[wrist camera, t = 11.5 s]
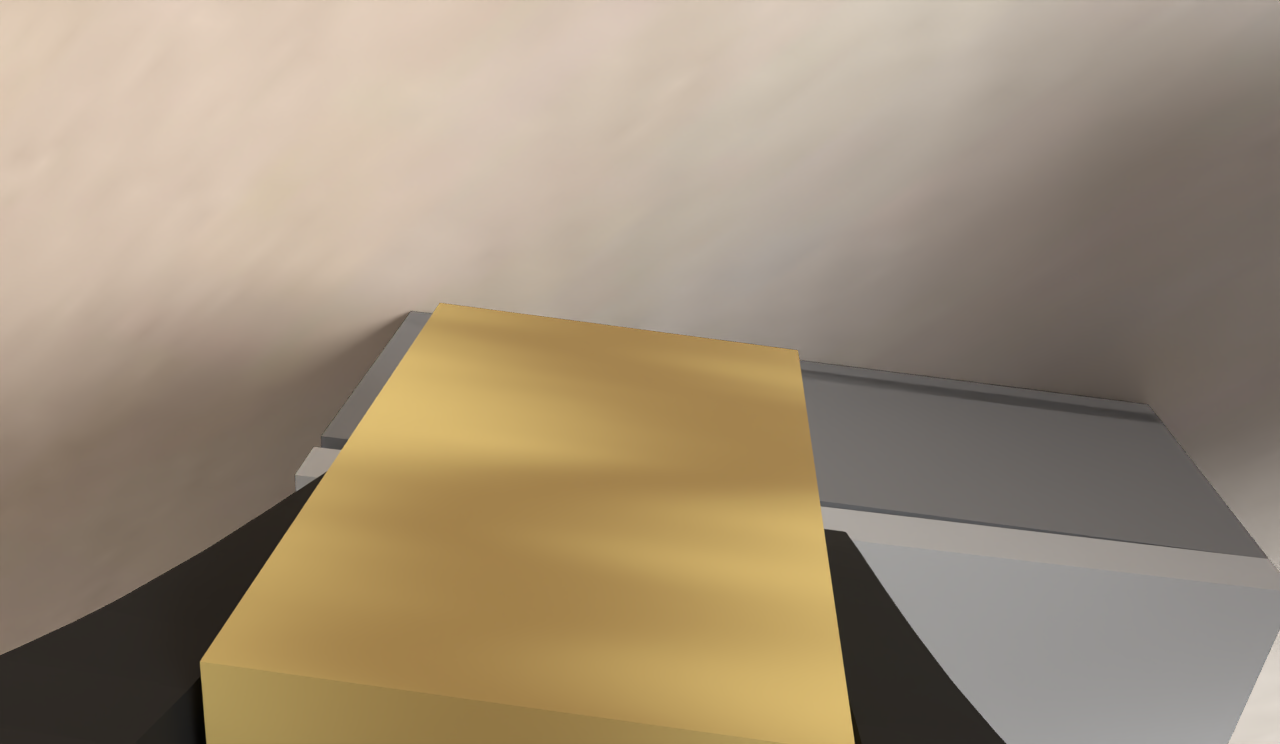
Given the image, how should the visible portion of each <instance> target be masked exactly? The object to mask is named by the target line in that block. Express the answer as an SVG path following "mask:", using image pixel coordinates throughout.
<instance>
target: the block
mask: <svg viewBox="0 0 1280 744" xmlns="http://www.w3.org/2000/svg"><path fill="white" fill-rule="evenodd" d="M200 670H201V682H202V695H203V707H204V719H205V732H206V744H855V741H854V734H853V727H852V720H851V713H850V706H849V699H848V692H847V686H846V679H845V672H844V665H843V658H842V651H841V644H840V637H839V630H838V623H837V616H836V609H835V603H834V596H833V589H832V582H831V575H830V568H829V561H828V554H827V547H826V540H825V533H824V527H823V520H822V513H821V506H820V499H819V492H818V485H817V478H816V471H815V464H814V457H813V450H812V444H811V437H810V430H809V423H808V416H807V409H806V402H805V395H804V388H803V381H802V374H801V368H800V361H799V354H798V350H792V349H785V348H777V347H769V346H762V345H754V344H747V343H739V342H732V341H724V340H716V339H709V338H701V337H694V336H686V335H679V334H671V333H664V332H656V331H648V330H641V329H633V328H626V327H618V326H611V325H603V324H596V323H588V322H580V321H573V320H565V319H558V318H550V317H543V316H535V315H528V314H520V313H512V312H505V311H497V310H490V309H482V308H475V307H467V306H459V305H452V304H444V303H439V305H438V306H437V308H436V309H435V311H434V312H433V314H432V315H431V317H430V318H429V320H428V321H427V323H426V324H425V326H424V327H423V329H422V330H421V332H420V333H419V335H418V336H417V338H416V339H415V341H414V342H413V344H412V345H411V347H410V348H409V350H408V351H407V353H406V354H405V356H404V357H403V359H402V360H401V362H400V363H399V365H398V366H397V368H396V369H395V371H394V372H393V374H392V375H391V377H390V378H389V380H388V381H387V383H386V384H385V386H384V387H383V389H382V390H381V392H380V393H379V395H378V396H377V397H376V399H375V400H374V402H373V403H372V405H371V406H370V408H369V409H368V411H367V412H366V414H365V415H364V417H363V418H362V420H361V421H360V423H359V424H358V426H357V427H356V429H355V430H354V432H353V433H352V435H351V436H350V438H349V439H348V441H347V442H346V444H345V445H344V447H343V448H342V450H341V451H340V453H339V454H338V456H337V457H336V459H335V460H334V462H333V463H332V465H331V466H330V468H329V469H328V471H327V472H326V474H325V475H324V477H323V478H322V480H321V481H320V483H319V484H318V486H317V487H316V489H315V490H314V492H313V493H312V495H311V496H310V498H309V499H308V501H307V502H306V504H305V505H304V507H303V508H302V510H301V511H300V513H299V514H298V516H297V517H296V519H295V520H294V522H293V523H292V525H291V526H290V528H289V529H288V530H287V532H286V533H285V535H284V536H283V538H282V539H281V541H280V542H279V544H278V545H277V547H276V548H275V550H274V551H273V553H272V554H271V556H270V557H269V559H268V560H267V562H266V563H265V565H264V566H263V568H262V569H261V571H260V572H259V574H258V575H257V577H256V578H255V580H254V581H253V583H252V584H251V586H250V587H249V589H248V590H247V592H246V593H245V595H244V596H243V598H242V599H241V601H240V602H239V604H238V605H237V607H236V608H235V610H234V611H233V613H232V614H231V616H230V617H229V619H228V620H227V622H226V623H225V625H224V626H223V628H222V629H221V631H220V632H219V634H218V635H217V637H216V638H215V640H214V641H213V643H212V644H211V646H210V647H209V649H208V650H207V652H206V653H205V655H204V656H203V658H202V659H201V661H200Z"/></svg>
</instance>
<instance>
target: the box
mask: <svg viewBox="0 0 1280 744" xmlns="http://www.w3.org/2000/svg"><path fill="white" fill-rule="evenodd" d="M431 315H432V314H430V313H422V312H414V311H411V312H410V313H409V315H408V316H407V318H406V319H405V320H404V322H403V323H402V325H401V326H400V327H399V329H398V330H397V331H396V333H395V334H394V336H393V337H392V338H391V340H390V341H389V343H388V344H387V345H386V347H385V348H384V350H383V351H382V352H381V354H380V355H379V356H378V358H377V359H376V361H375V362H374V363H373V365H372V366H371V368H370V369H369V370H368V372H367V373H366V375H365V376H364V377H363V379H362V380H361V381H360V383H359V384H358V386H357V387H356V388H355V390H354V391H353V393H352V394H351V395H350V397H349V398H348V400H347V401H346V402H345V404H344V405H343V406H342V408H341V409H340V411H339V412H338V413H337V415H336V416H335V418H334V419H333V420H332V422H331V423H330V425H329V426H328V427H327V429H326V430H325V431H324V433H323V434H322V436H321V447H322V448H328V449H336V450H342V448H343V447H344V445H345V444H346V442H347V441H348V439H349V438H350V436H351V435H352V433H353V432H354V430H355V429H356V427H357V426H358V424H359V423H360V421H361V420H362V418H363V417H364V415H365V414H366V412H367V411H368V409H369V408H370V406H371V405H372V403H373V402H374V400H375V399H376V397H377V396H378V395H379V393H380V392H381V390H382V389H383V387H384V386H385V384H386V383H387V381H388V380H389V378H390V377H391V375H392V374H393V372H394V371H395V369H396V368H397V366H398V365H399V363H400V362H401V360H402V359H403V357H404V356H405V354H406V353H407V351H408V350H409V348H410V347H411V345H412V344H413V342H414V341H415V339H416V338H417V336H418V335H419V333H420V332H421V330H422V329H423V327H424V326H425V324H426V323H427V321H428V320H429V318H430V317H431ZM799 361H800V368H801V374H802V381H803V388H804V395H805V402H806V409H807V416H808V423H809V430H810V437H811V444H812V450H813V457H814V464H815V471H816V478H817V485H818V492H819V499H820V506H822V507H830V508H839V509H847V510H856V511H864V512H873V513H881V514H890V515H898V516H907V517H915V518H924V519H932V520H941V521H949V522H958V523H966V524H975V525H983V526H992V527H1000V528H1009V529H1017V530H1026V531H1035V532H1043V533H1052V534H1060V535H1069V536H1077V537H1086V538H1094V539H1103V540H1111V541H1120V542H1128V543H1137V544H1145V545H1154V546H1162V547H1171V548H1179V549H1188V550H1196V551H1205V552H1213V553H1222V554H1230V555H1239V556H1247V557H1256V558H1264V559H1268V557H1267V556H1266V555H1265V554H1264V552H1263V551H1262V550H1261V548H1260V547H1259V546H1258V545H1257V543H1256V542H1255V541H1254V539H1253V538H1252V537H1251V536H1250V534H1249V533H1248V532H1247V530H1246V529H1245V528H1244V527H1243V525H1242V524H1241V523H1240V522H1239V520H1238V519H1237V518H1236V516H1235V515H1234V514H1233V513H1232V511H1231V510H1230V509H1229V507H1228V506H1227V505H1226V504H1225V502H1224V501H1223V500H1222V498H1221V497H1220V496H1219V495H1218V493H1217V492H1216V491H1215V489H1214V488H1213V487H1212V486H1211V484H1210V483H1209V482H1208V481H1207V479H1206V478H1205V477H1204V475H1203V474H1202V473H1201V472H1200V470H1199V469H1198V468H1197V466H1196V465H1195V464H1194V463H1193V461H1192V460H1191V459H1190V457H1189V456H1188V455H1187V454H1186V452H1185V451H1184V450H1183V448H1182V447H1181V446H1180V445H1179V443H1178V442H1177V441H1176V440H1175V438H1174V437H1173V436H1172V434H1171V433H1170V432H1169V431H1168V429H1167V428H1166V427H1165V425H1164V424H1163V423H1162V422H1161V420H1160V419H1159V418H1158V416H1157V415H1156V414H1155V413H1154V411H1153V410H1152V409H1151V407H1150V406H1149V405H1148V404H1140V403H1132V402H1124V401H1116V400H1108V399H1101V398H1093V397H1085V396H1077V395H1069V394H1061V393H1053V392H1045V391H1037V390H1030V389H1022V388H1014V387H1006V386H998V385H990V384H982V383H974V382H966V381H959V380H951V379H943V378H935V377H927V376H919V375H911V374H903V373H895V372H888V371H880V370H872V369H864V368H856V367H848V366H840V365H832V364H824V363H817V362H809V361H801V360H799Z"/></svg>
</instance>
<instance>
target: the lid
mask: <svg viewBox="0 0 1280 744" xmlns="http://www.w3.org/2000/svg"><path fill="white" fill-rule="evenodd" d="M340 451H341V450H336V449H328V448H319V447H313V449H312V450H311V452H310V453H309V455H308V456H307V458H306V459H305V461H304V462H303V464H302V465H301V467H300V468H299V470H298V471H297V473H296V474H295V488H296V491H298V490H299V489H301V488H302V487H304V486H305V485H307V484H308V483H310V482H311V481H313V480H314V479H316V478H317V477H319V476H321V475H322V474H324V473H325V472H327V471H328V469H329V468H330V466H331V465H332V463H333V462H334V460H335V459H336V457H337V456H338V454H339V453H340ZM821 513H822V520H823V527H824V529H830V530H837V531H844V532H846V533H847V534H848V535H849V537H850V538H851V540H852V541H853V542H854V544H855V545H856V547H857V548H858V549H859V551H860V552H861V554H862V555H863V557H864V558H865V560H866V561H867V563H868V564H869V566H870V567H871V569H872V570H873V572H874V573H875V575H876V576H877V578H878V579H879V581H880V582H881V584H882V585H883V587H884V588H885V590H886V591H887V593H888V594H889V595H890V597H891V598H892V600H893V601H894V603H895V604H896V606H897V607H898V608H899V610H900V611H901V613H902V614H903V616H904V617H905V618H906V620H907V621H908V623H909V624H910V625H911V627H912V628H913V630H914V631H915V632H916V634H917V635H918V636H919V638H920V639H921V640H922V642H923V643H924V644H925V646H926V647H927V648H928V650H929V651H930V652H931V654H932V655H933V656H934V658H935V659H936V660H937V662H938V663H939V664H940V666H941V667H942V668H943V670H944V671H945V672H946V674H947V675H948V676H949V677H950V679H951V680H952V681H953V682H954V684H955V685H956V686H957V687H958V689H959V690H960V691H961V692H962V693H963V694H964V696H965V697H966V698H967V699H968V700H969V701H970V703H971V704H972V705H973V706H974V707H975V708H976V710H977V711H978V712H979V713H980V714H981V715H982V716H983V718H984V719H985V720H986V721H987V722H988V723H989V725H990V726H991V727H992V728H993V729H994V730H995V732H996V733H997V734H998V735H999V736H1000V737H1001V738H1002V739H1003V740H1004V741H1005V743H1006V744H1228V743H1229V741H1230V738H1231V736H1232V734H1233V732H1234V729H1235V727H1236V725H1237V723H1238V721H1239V718H1240V716H1241V714H1242V712H1243V709H1244V707H1245V705H1246V703H1247V701H1248V698H1249V696H1250V694H1251V692H1252V690H1253V687H1254V685H1255V683H1256V681H1257V678H1258V676H1259V674H1260V672H1261V670H1262V667H1263V665H1264V663H1265V661H1266V658H1267V656H1268V654H1269V652H1270V650H1271V647H1272V645H1273V643H1274V641H1275V638H1276V636H1277V634H1278V632H1279V630H1280V572H1279V571H1278V570H1277V568H1276V567H1275V566H1274V565H1273V564H1272V562H1271V561H1270V560H1269V559H1264V558H1256V557H1247V556H1239V555H1230V554H1222V553H1213V552H1205V551H1196V550H1188V549H1179V548H1171V547H1162V546H1154V545H1145V544H1137V543H1128V542H1120V541H1111V540H1103V539H1094V538H1086V537H1077V536H1069V535H1060V534H1052V533H1043V532H1035V531H1026V530H1017V529H1009V528H1000V527H992V526H983V525H975V524H966V523H958V522H949V521H941V520H932V519H924V518H915V517H907V516H898V515H890V514H881V513H873V512H864V511H856V510H847V509H839V508H830V507H822V506H821Z"/></svg>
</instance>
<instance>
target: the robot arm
mask: <svg viewBox="0 0 1280 744" xmlns="http://www.w3.org/2000/svg"><path fill="white" fill-rule="evenodd" d="M325 474H326V472H325V473H324V474H322V475H321V476H319V477H317V478H316V479H314V480H313V481H311V482H310V483H308V484H307V485H305V486H304V487H302V488H301V489H299V490H298V491H296V492H295V493H293V494H292V495H290V496H289V497H287V498H286V499H284V500H283V501H281V502H280V503H278V504H277V505H275V506H274V507H272V508H271V509H269V510H268V511H266V512H264V513H263V514H261V515H260V516H258V517H257V518H255V519H253V520H252V521H250V522H249V523H247V524H246V525H244V526H242V527H241V528H239V529H238V530H236V531H235V532H233V533H231V534H230V535H228V536H227V537H225V538H224V539H222V540H220V541H219V542H217V543H216V544H214V545H213V546H211V547H209V548H208V549H206V550H204V551H203V552H201V553H199V554H197V555H196V556H194V557H192V558H190V559H189V560H187V561H185V562H183V563H182V564H180V565H178V566H176V567H175V568H173V569H171V570H169V571H168V572H166V573H164V574H162V575H161V576H159V577H157V578H155V579H154V580H152V581H150V582H148V583H147V584H145V585H143V586H141V587H139V588H138V589H136V590H134V591H132V592H131V593H129V594H127V595H125V596H124V597H122V598H120V599H118V600H116V601H114V602H112V603H110V604H108V605H107V606H105V607H103V608H101V609H99V610H97V611H95V612H93V613H91V614H89V615H87V616H85V617H83V618H81V619H79V620H77V621H75V622H73V623H71V624H68V625H66V626H64V627H62V628H60V629H58V630H55V631H53V632H51V633H49V634H47V635H44V636H42V637H40V638H38V639H36V640H34V641H31V642H29V643H27V644H25V645H23V646H21V647H18V648H16V649H14V650H12V651H9V652H7V653H5V654H2V655H0V744H206V732H205V719H204V707H203V695H202V682H201V670H200V661H201V659H202V658H203V656H204V655H205V653H206V652H207V650H208V649H209V647H210V646H211V644H212V643H213V641H214V640H215V638H216V637H217V635H218V634H219V632H220V631H221V629H222V628H223V626H224V625H225V623H226V622H227V620H228V619H229V617H230V616H231V614H232V613H233V611H234V610H235V608H236V607H237V605H238V604H239V602H240V601H241V599H242V598H243V596H244V595H245V593H246V592H247V590H248V589H249V587H250V586H251V584H252V583H253V581H254V580H255V578H256V577H257V575H258V574H259V572H260V571H261V569H262V568H263V566H264V565H265V563H266V562H267V560H268V559H269V557H270V556H271V554H272V553H273V551H274V550H275V548H276V547H277V545H278V544H279V542H280V541H281V539H282V538H283V536H284V535H285V533H286V532H287V530H288V529H289V528H290V526H291V525H292V523H293V522H294V520H295V519H296V517H297V516H298V514H299V513H300V511H301V510H302V508H303V507H304V505H305V504H306V502H307V501H308V499H309V498H310V496H311V495H312V493H313V492H314V490H315V489H316V487H317V486H318V484H319V483H320V481H321V480H322V478H323V477H324V475H325ZM824 533H825V540H826V547H827V554H828V561H829V568H830V575H831V582H832V589H833V596H834V603H835V609H836V616H837V623H838V630H839V637H840V644H841V651H842V658H843V665H844V672H845V679H846V686H847V692H848V699H849V706H850V713H851V720H852V727H853V734H854V741H855V744H1006V743H1005V741H1004V740H1003V739H1002V738H1001V737H1000V736H999V735H998V734H997V733H996V732H995V730H994V729H993V728H992V727H991V726H990V725H989V723H988V722H987V721H986V720H985V719H984V718H983V716H982V715H981V714H980V713H979V712H978V711H977V710H976V708H975V707H974V706H973V705H972V704H971V703H970V701H969V700H968V699H967V698H966V697H965V696H964V694H963V693H962V692H961V691H960V690H959V689H958V687H957V686H956V685H955V684H954V682H953V681H952V680H951V679H950V677H949V676H948V675H947V674H946V672H945V671H944V670H943V668H942V667H941V666H940V664H939V663H938V662H937V660H936V659H935V658H934V656H933V655H932V654H931V652H930V651H929V650H928V648H927V647H926V646H925V644H924V643H923V642H922V640H921V639H920V638H919V636H918V635H917V634H916V632H915V631H914V630H913V628H912V627H911V625H910V624H909V623H908V621H907V620H906V618H905V617H904V616H903V614H902V613H901V611H900V610H899V608H898V607H897V606H896V604H895V603H894V601H893V600H892V598H891V597H890V595H889V594H888V593H887V591H886V590H885V588H884V587H883V585H882V584H881V582H880V581H879V579H878V578H877V576H876V575H875V573H874V572H873V570H872V569H871V567H870V566H869V564H868V563H867V561H866V560H865V558H864V557H863V555H862V554H861V552H860V551H859V549H858V548H857V547H856V545H855V544H854V542H853V541H852V540H851V538H850V537H849V535H848V534H847V533H846V532H844V531H837V530H830V529H824Z"/></svg>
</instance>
